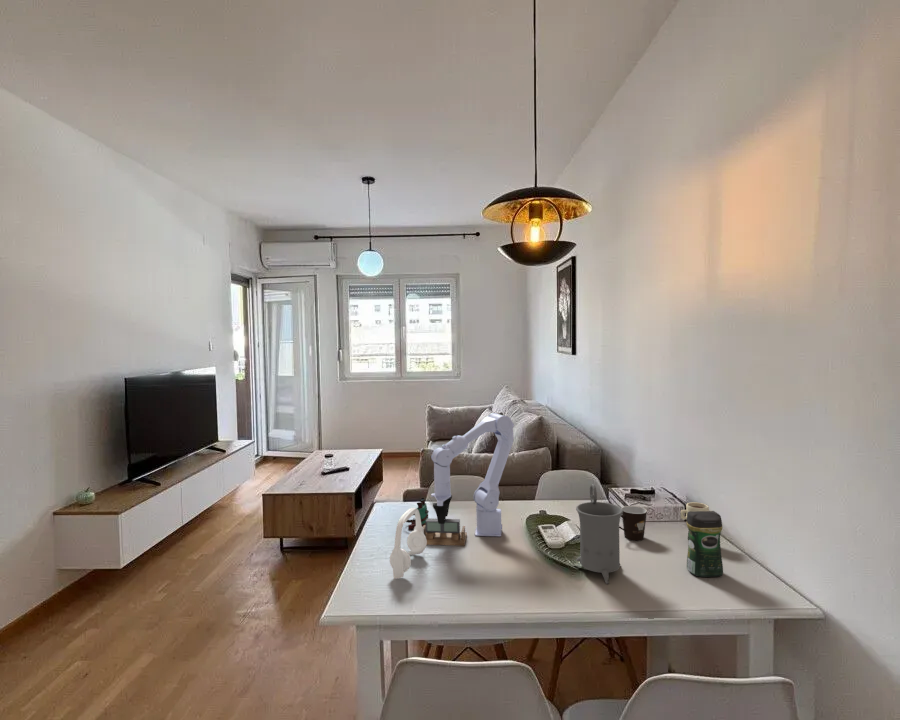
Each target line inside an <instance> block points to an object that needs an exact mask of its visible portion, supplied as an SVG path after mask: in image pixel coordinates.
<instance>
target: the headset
mask: <svg viewBox="0 0 900 720" xmlns="http://www.w3.org/2000/svg"><path fill="white" fill-rule="evenodd" d="M416 508H417V507H410V508H409V509H407V510H406V511H405V512H404V513H403V514H402V515H401V516H400V517H399V520H398V522H397V525H396V530H395V536H394V544H393V545H394V547H393V549H392V551H391V553H390V556H389V564H390V566H391V568H392V576H393V579H394V580H396V579H397V580H398V579H401V578H403V577H404V574H405V573H406V572H408V570H409V569H410V568H411V564H412V559H411V556H414V555H420V554H423V553H424V551H425V549H426V548H427V540H426V537H425V535H424V529H423V527H422V525H421V518H420V513H419V510H418V509H416ZM413 514H415V515H413ZM412 516H414V518H415V520H416V526H415V527H414V528H413V530H412V531H410V532H409V534H408V535H407V540H406V544H407V547H408V549H409V550H408V551H406V549H403V548H401V542H402V541H401V540H402V531H403V527H404V524H405V523H407V522H406V521H407V520H410V518H411V517H412Z"/></svg>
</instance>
